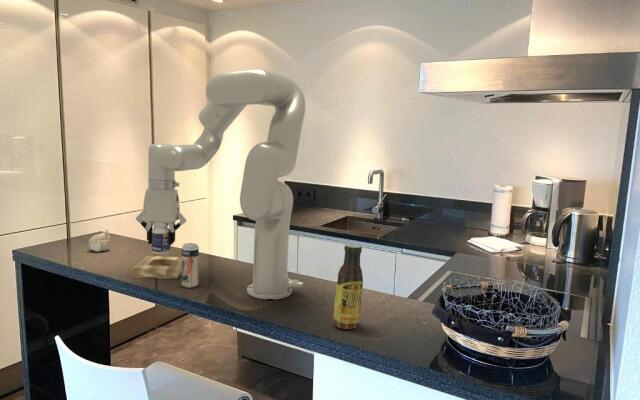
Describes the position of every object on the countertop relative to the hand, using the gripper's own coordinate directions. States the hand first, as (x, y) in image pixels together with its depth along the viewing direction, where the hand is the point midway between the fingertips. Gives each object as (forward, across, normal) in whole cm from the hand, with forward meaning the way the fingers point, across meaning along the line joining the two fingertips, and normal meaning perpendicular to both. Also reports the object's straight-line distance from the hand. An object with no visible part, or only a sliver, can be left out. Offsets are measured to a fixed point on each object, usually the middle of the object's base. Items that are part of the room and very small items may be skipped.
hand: (161, 242), depth 145 cm
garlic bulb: (+10, +27, -20) cm, 35 cm away
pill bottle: (+3, 0, 0) cm, 3 cm away
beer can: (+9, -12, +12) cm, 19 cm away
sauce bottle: (+9, -55, +36) cm, 66 cm away
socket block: (+9, 0, 0) cm, 9 cm away
